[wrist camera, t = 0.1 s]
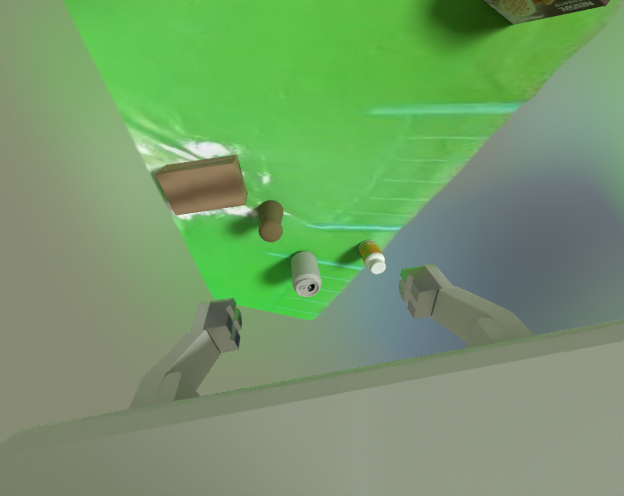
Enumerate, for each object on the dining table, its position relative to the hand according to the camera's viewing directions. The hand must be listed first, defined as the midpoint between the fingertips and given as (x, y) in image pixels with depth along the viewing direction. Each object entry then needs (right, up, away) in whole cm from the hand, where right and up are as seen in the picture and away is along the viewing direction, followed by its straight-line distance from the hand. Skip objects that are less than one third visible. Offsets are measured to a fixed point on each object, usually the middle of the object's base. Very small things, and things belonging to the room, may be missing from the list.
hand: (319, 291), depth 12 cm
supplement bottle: (+16, +3, +60) cm, 62 cm away
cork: (-11, +11, +50) cm, 52 cm away
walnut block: (-23, +17, +43) cm, 52 cm away
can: (-3, -1, +60) cm, 60 cm away
